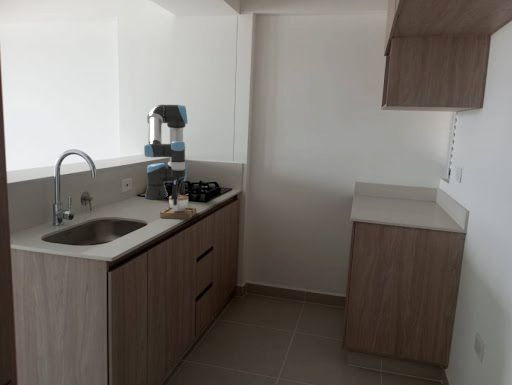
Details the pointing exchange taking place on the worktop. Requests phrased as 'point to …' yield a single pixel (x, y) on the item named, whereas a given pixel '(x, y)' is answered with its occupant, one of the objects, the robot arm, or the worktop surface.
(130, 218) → the worktop surface
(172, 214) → the wooden tray
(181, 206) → the lidded jar
